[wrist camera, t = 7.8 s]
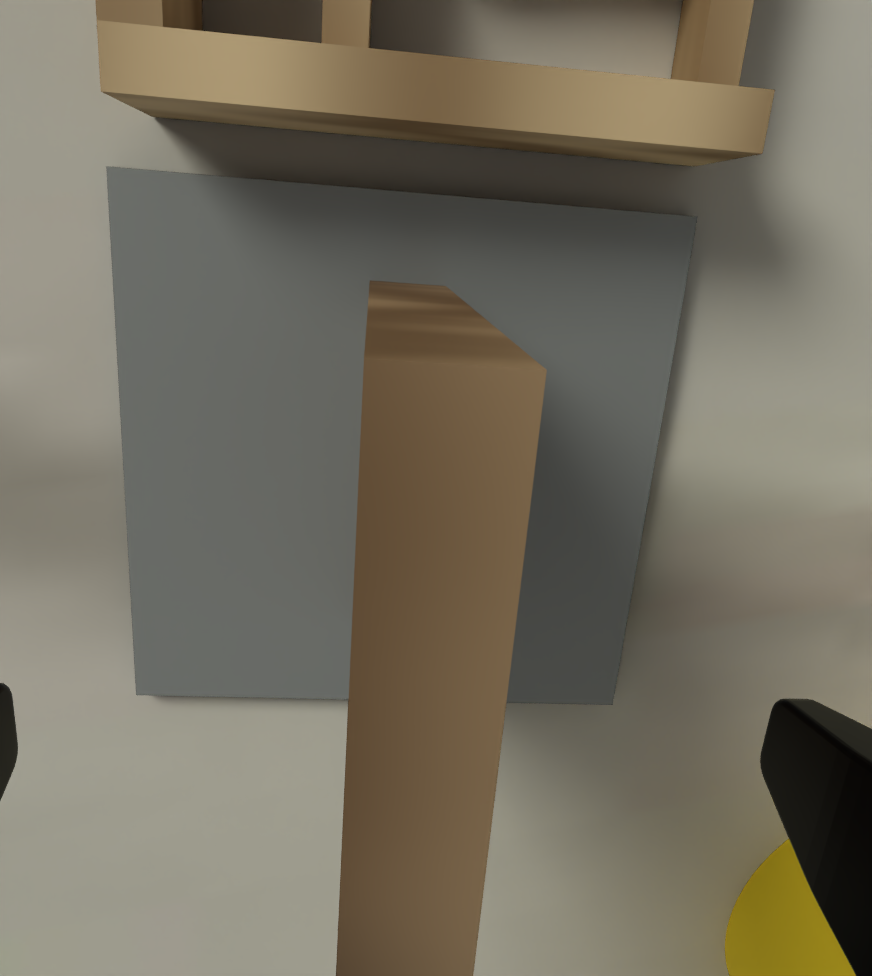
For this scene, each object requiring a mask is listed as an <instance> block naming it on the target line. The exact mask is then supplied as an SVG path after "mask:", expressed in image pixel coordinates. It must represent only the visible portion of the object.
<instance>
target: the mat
mask: <svg viewBox="0 0 872 976" xmlns="http://www.w3.org/2000/svg"><path fill="white" fill-rule="evenodd" d="M106 168H107V186H108V203H109V221H110V239H111V257H112V274H113V292H114V310H115V328H116V345H117V363H118V381H119V399H120V416H121V434H122V452H123V470H124V487H125V505H126V523H127V541H128V558H129V576H130V594H131V612H132V629H133V647H134V665H135V683H136V695H158V696H207V697H256V698H305V699H349V678H350V656H351V634H352V612H353V589H354V567H355V545H356V523H357V501H358V479H359V457H360V435H361V413H362V391H363V368H364V351H365V338H366V324H367V311H368V297H369V284H370V280H371V281H385V282H398V283H412V284H426V285H440V286H446V287H448V288H449V289H450V290H451V291H452V292H454V293H455V294H456V295H457V296H458V297H460V298H461V299H462V300H463V301H464V302H466V303H467V304H468V305H469V306H470V307H472V308H473V309H474V310H475V311H476V312H478V313H479V314H480V315H481V316H482V317H484V318H485V319H486V320H487V321H489V322H490V323H491V324H492V325H493V326H495V327H496V328H497V329H498V330H499V331H501V332H502V333H503V334H504V335H505V336H507V337H508V338H509V339H510V340H511V341H513V342H514V343H515V344H516V345H517V346H519V347H520V348H521V349H522V350H523V351H525V352H526V353H527V354H528V355H529V356H531V357H532V358H533V359H534V360H535V361H537V362H538V363H539V364H540V365H541V366H543V367H544V368H545V369H546V370H547V373H546V381H545V389H544V397H543V406H542V414H541V422H540V430H539V438H538V447H537V455H536V463H535V471H534V479H533V488H532V496H531V504H530V512H529V520H528V529H527V537H526V545H525V553H524V561H523V570H522V578H521V586H520V594H519V603H518V611H517V619H516V627H515V635H514V644H513V652H512V660H511V668H510V676H509V685H508V693H507V701H506V703H550V704H599V705H613V699H614V693H615V687H616V682H617V676H618V670H619V665H620V659H621V653H622V647H623V642H624V636H625V630H626V624H627V619H628V613H629V607H630V601H631V596H632V590H633V584H634V579H635V573H636V567H637V561H638V556H639V550H640V544H641V538H642V533H643V527H644V521H645V516H646V510H647V504H648V498H649V493H650V487H651V481H652V475H653V470H654V464H655V458H656V452H657V447H658V441H659V435H660V430H661V424H662V418H663V412H664V407H665V401H666V395H667V389H668V384H669V378H670V372H671V366H672V361H673V355H674V349H675V344H676V338H677V332H678V326H679V321H680V315H681V309H682V303H683V298H684V292H685V286H686V280H687V275H688V269H689V263H690V258H691V252H692V246H693V240H694V235H695V229H696V223H697V217H696V216H684V215H672V214H660V213H649V212H637V211H625V210H613V209H602V208H590V207H578V206H566V205H555V204H543V203H531V202H519V201H507V200H496V199H484V198H472V197H460V196H449V195H437V194H425V193H413V192H402V191H390V190H378V189H366V188H355V187H343V186H331V185H319V184H308V183H296V182H284V181H272V180H261V179H249V178H237V177H225V176H214V175H202V174H190V173H178V172H167V171H155V170H143V169H131V168H120V167H108V166H106Z"/></svg>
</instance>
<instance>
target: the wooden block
mask: <svg viewBox="0 0 872 976" xmlns="http://www.w3.org/2000/svg"><path fill="white" fill-rule="evenodd" d="M546 373H547V370H546V369H545V368H544V367H543V366H541V365H540V364H539V363H538V362H537V361H535V360H534V359H533V358H532V357H531V356H529V355H528V354H527V353H526V352H525V351H523V350H522V349H521V348H520V347H519V346H517V345H516V344H515V343H514V342H513V341H511V340H510V339H509V338H508V337H507V336H505V335H504V334H503V333H502V332H501V331H499V330H498V329H497V328H496V327H495V326H493V325H492V324H491V323H490V322H489V321H487V320H486V319H485V318H484V317H482V316H481V315H480V314H479V313H478V312H476V311H475V310H474V309H473V308H472V307H470V306H469V305H468V304H467V303H466V302H464V301H463V300H462V299H461V298H460V297H458V296H457V295H456V294H455V293H454V292H452V291H451V290H450V289H449V288H448V287H446V286H440V285H426V284H412V283H398V282H385V281H371V280H370V284H369V297H368V311H367V324H366V338H365V351H364V368H363V391H362V413H361V435H360V457H359V479H358V501H357V523H356V545H355V567H354V589H353V612H352V634H351V656H350V678H349V700H348V722H347V744H346V766H345V788H344V810H343V832H342V855H341V877H340V899H339V921H338V943H337V965H336V976H473V972H474V964H475V956H476V947H477V939H478V931H479V923H480V914H481V906H482V898H483V890H484V882H485V873H486V865H487V857H488V849H489V841H490V832H491V824H492V816H493V808H494V800H495V791H496V783H497V775H498V767H499V759H500V750H501V742H502V734H503V726H504V717H505V709H506V701H507V693H508V685H509V676H510V668H511V660H512V652H513V644H514V635H515V627H516V619H517V611H518V603H519V594H520V586H521V578H522V570H523V561H524V553H525V545H526V537H527V529H528V520H529V512H530V504H531V496H532V488H533V479H534V471H535V463H536V455H537V447H538V438H539V430H540V422H541V414H542V406H543V397H544V389H545V381H546Z"/></svg>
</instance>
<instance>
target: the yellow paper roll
mask: <svg viewBox="0 0 872 976" xmlns="http://www.w3.org/2000/svg"><path fill="white" fill-rule="evenodd" d="M725 958H726V964H727V969H728V972H729V975H730V976H856V975H855V973H854V971H853V969H852V967H851V965H850V963H849V962H848V960H847V958H846V956H845V954H844V952H843V950H842V948H841V947H840V945H839V943H838V941H837V939H836V937H835V935H834V933H833V932H832V930H831V928H830V926H829V924H828V922H827V920H826V919H825V917H824V915H823V913H822V911H821V909H820V907H819V905H818V903H817V901H816V899H815V897H814V895H813V893H812V891H811V889H810V887H809V884H808V882H807V880H806V878H805V876H804V873H803V871H802V869H801V866H800V864H799V861H798V859H797V857H796V854H795V852H794V849H793V847H792V845H791V842H790V840H789V839H788V840H787V841H785V842H784V843H783V844H782V845H781V846H780V847H778V848H777V849H776V850H775V851H774V852H773V853H772V854H771V855H770V856H769V857H768V858H767V859H766V860H765V861H764V862H763V863H762V864H761V865H760V867H759V868H758V869H757V870H756V871H755V873H754V874H753V875H752V877H751V878H750V879H749V881H748V882H747V884H746V885H745V887H744V888H743V890H742V892H741V893H740V895H739V897H738V899H737V901H736V903H735V906H734V908H733V910H732V913H731V916H730V919H729V923H728V927H727V932H726V939H725Z"/></svg>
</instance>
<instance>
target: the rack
mask: <svg viewBox="0 0 872 976" xmlns="http://www.w3.org/2000/svg"><path fill="white" fill-rule="evenodd" d="M753 4H754V0H683V3H682V9H681V16H680V22H679V29H678V35H677V42H676V48H675V54H674V61H673V67H672V74H671V79H665V78H655V77H645V76H636V75H626V74H616V73H607V72H597V71H587V70H577V69H568V68H558V67H548V66H539V65H529V64H519V63H509V62H500V61H490V60H480V59H470V58H461V57H451V56H441V55H432V54H422V53H412V52H402V51H393V50H383V49H373V48H370V35H371V12H372V0H323V4H322V43H315V42H305V41H295V40H286V39H276V38H266V37H257V36H247V35H237V34H227V33H218V32H208V31H202V0H96V15H97V33H98V50H99V68H100V86H101V92H103V93H105V94H107V95H109V96H111V97H113V98H115V99H117V100H119V101H121V102H123V103H125V104H127V105H130V106H132V107H134V108H136V109H138V110H140V111H142V112H144V113H146V114H148V115H150V116H152V117H161V118H172V119H183V120H194V121H205V122H216V123H227V124H238V125H249V126H259V127H270V128H281V129H292V130H303V131H314V132H325V133H336V134H347V135H358V136H369V137H379V138H390V139H401V140H412V141H423V142H434V143H445V144H456V145H467V146H478V147H489V148H499V149H510V150H521V151H532V152H543V153H554V154H565V155H576V156H587V157H598V158H609V159H619V160H630V161H641V162H652V163H663V164H674V165H685V166H699V165H704V164H710V163H715V162H720V161H726V160H731V159H736V158H742V157H747V156H752V155H758V154H762V153H763V148H764V143H765V138H766V133H767V128H768V122H769V117H770V112H771V107H772V102H773V97H774V92H775V90H772V89H762V88H752V87H743V86H739V81H740V75H741V70H742V64H743V59H744V53H745V48H746V42H747V37H748V31H749V26H750V20H751V15H752V9H753Z"/></svg>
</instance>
